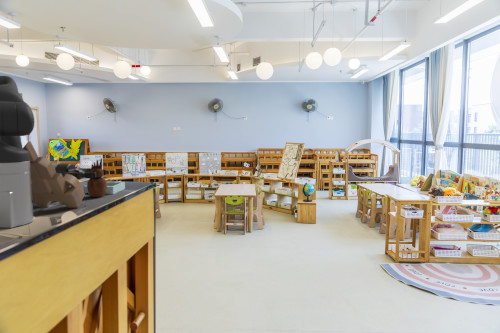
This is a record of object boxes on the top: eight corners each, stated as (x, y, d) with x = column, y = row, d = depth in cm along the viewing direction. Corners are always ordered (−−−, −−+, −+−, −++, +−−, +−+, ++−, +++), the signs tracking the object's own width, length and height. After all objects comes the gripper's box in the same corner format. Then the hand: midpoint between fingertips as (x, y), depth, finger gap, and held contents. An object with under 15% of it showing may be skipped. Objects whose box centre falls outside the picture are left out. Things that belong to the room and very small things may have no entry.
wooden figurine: (109, 195, 125) (108, 158, 124) (101, 198, 120) (100, 159, 118) (93, 194, 126) (92, 157, 124) (84, 197, 120) (83, 158, 119)
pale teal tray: (113, 194, 128) (113, 186, 127) (83, 193, 128) (83, 186, 127) (124, 188, 140) (124, 182, 139) (98, 188, 140) (97, 181, 139)
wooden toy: (86, 194, 110) (60, 134, 94) (78, 208, 104) (49, 147, 89) (42, 193, 109) (8, 133, 94) (31, 207, 104) (-6, 146, 88)
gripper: (47, 165, 114) (91, 166, 114) (69, 161, 128) (109, 162, 128) (48, 185, 115) (92, 186, 115) (70, 179, 129) (109, 180, 129)
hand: (101, 173), depth 122 cm, fingers open, 8 cm apart
